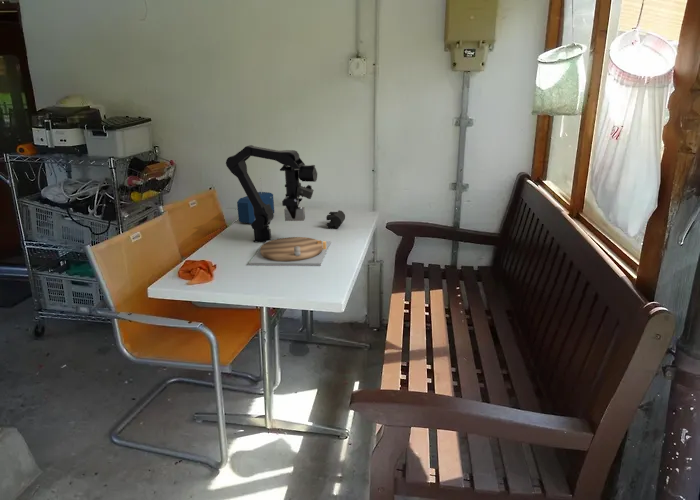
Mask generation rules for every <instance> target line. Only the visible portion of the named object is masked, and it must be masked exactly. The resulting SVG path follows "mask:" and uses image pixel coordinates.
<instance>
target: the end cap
mask: <svg viewBox="0 0 700 500" xmlns="http://www.w3.org/2000/svg"><path fill="white" fill-rule="evenodd" d="M325 218H326V221H329V222H326V227H327V228H326V229H327V230H337V229H339V228H340V227H341V226H342V224H343V223H344V221H345V219H346V214H345V212H344V211H342V210H339V209H338V210H337V211H330V212H328V214H327V215H326V217H325Z"/></svg>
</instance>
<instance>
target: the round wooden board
mask: <svg viewBox="0 0 700 500" xmlns="http://www.w3.org/2000/svg"><path fill="white" fill-rule="evenodd" d="M322 241H323V240H318V239H316V238H311V237H304V236H290V237H282V238H276V239H273V240H269V242H266V243H265V242H264V243H265V244H264V243H263V244H261V246H260V247H259V250H260V251H261V255H262V256H263V257H264V258H266V259H270V260H275V261H298V260H304V259H309V258H312V257H315V256H317V255H319V254H320V253H321V252H322V250H323V246H322Z"/></svg>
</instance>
